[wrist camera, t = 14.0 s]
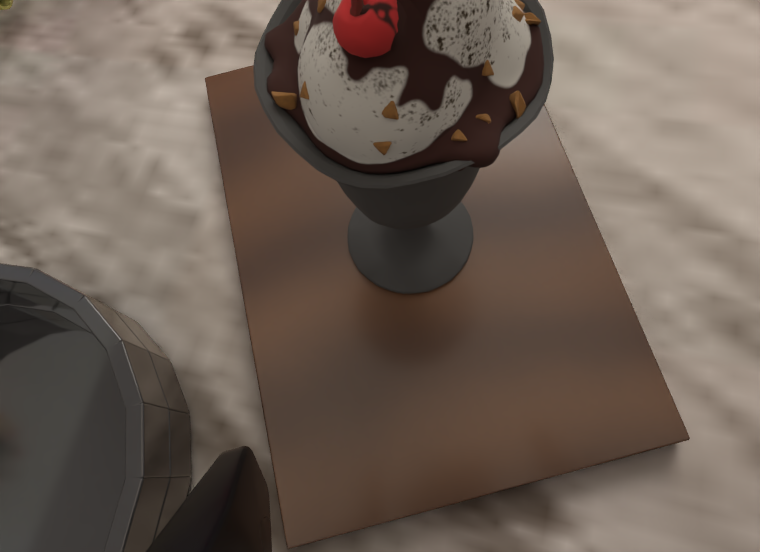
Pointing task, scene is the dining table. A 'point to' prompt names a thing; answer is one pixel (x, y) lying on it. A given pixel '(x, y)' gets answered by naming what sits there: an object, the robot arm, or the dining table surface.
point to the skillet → (84, 423)
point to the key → (5, 4)
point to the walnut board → (430, 337)
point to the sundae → (404, 114)
